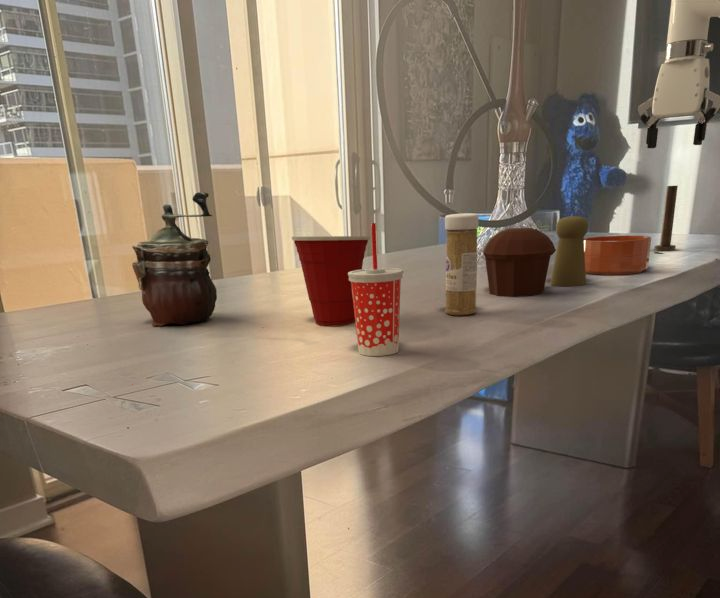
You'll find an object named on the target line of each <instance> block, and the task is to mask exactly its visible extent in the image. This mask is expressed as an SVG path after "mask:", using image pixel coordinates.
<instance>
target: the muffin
mask: <svg viewBox="0 0 720 598" xmlns="http://www.w3.org/2000/svg"><path fill="white" fill-rule="evenodd" d="M556 251H557V248H556V247H555V245H554V242H553V241H552V240H551V238H550V237H549V236H548V235H547V234H545V233H544V232H542V231H540V230H539V229H537V228H532V227H511V228H506V229H503V230H500V231H499V232H498V233H496V234H494V235H493V236H492V237H491V238H489V240H488V241H487V243H486V244H485V246H484V248H483V250H482V254H483V256H484V260H485V267H486V268H485V269H486V274H487V285H488V291H489V294H490V295H494V296H496V297H497V296H498V297H530V296H535V295H540V294H543V292H544V291H545V286H546V280H547V276H548V271H549V265H550V261H551V256H553V254H555V253H556Z"/></svg>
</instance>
